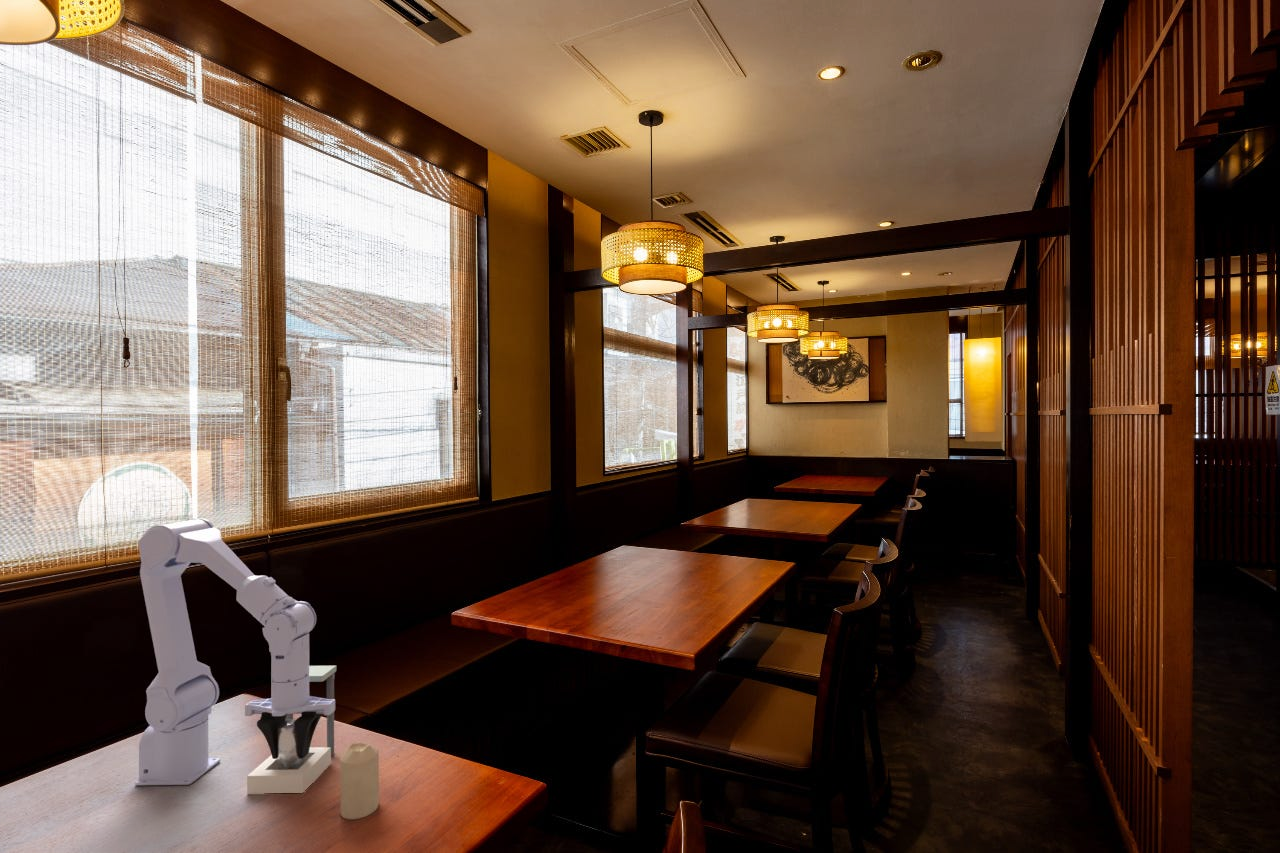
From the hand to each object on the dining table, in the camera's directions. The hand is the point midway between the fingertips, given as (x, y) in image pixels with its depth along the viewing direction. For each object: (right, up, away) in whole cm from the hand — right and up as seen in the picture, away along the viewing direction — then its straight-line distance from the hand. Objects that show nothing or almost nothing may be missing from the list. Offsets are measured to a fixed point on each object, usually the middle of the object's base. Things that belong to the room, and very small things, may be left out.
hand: (290, 755), depth 107 cm
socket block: (0, -4, 0) cm, 4 cm away
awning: (-1, -4, +6) cm, 8 cm away
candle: (+16, -4, -9) cm, 19 cm away
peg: (0, -3, 0) cm, 3 cm away
